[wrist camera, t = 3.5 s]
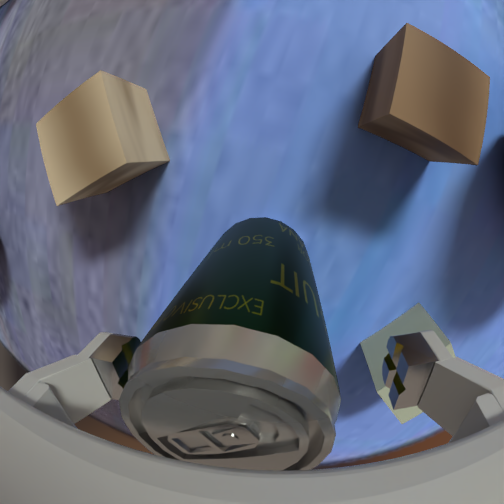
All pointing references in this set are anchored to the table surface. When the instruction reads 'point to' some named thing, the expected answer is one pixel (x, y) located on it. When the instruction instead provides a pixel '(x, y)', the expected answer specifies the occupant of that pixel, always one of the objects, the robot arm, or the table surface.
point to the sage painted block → (377, 350)
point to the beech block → (99, 138)
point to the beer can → (239, 360)
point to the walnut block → (427, 99)
